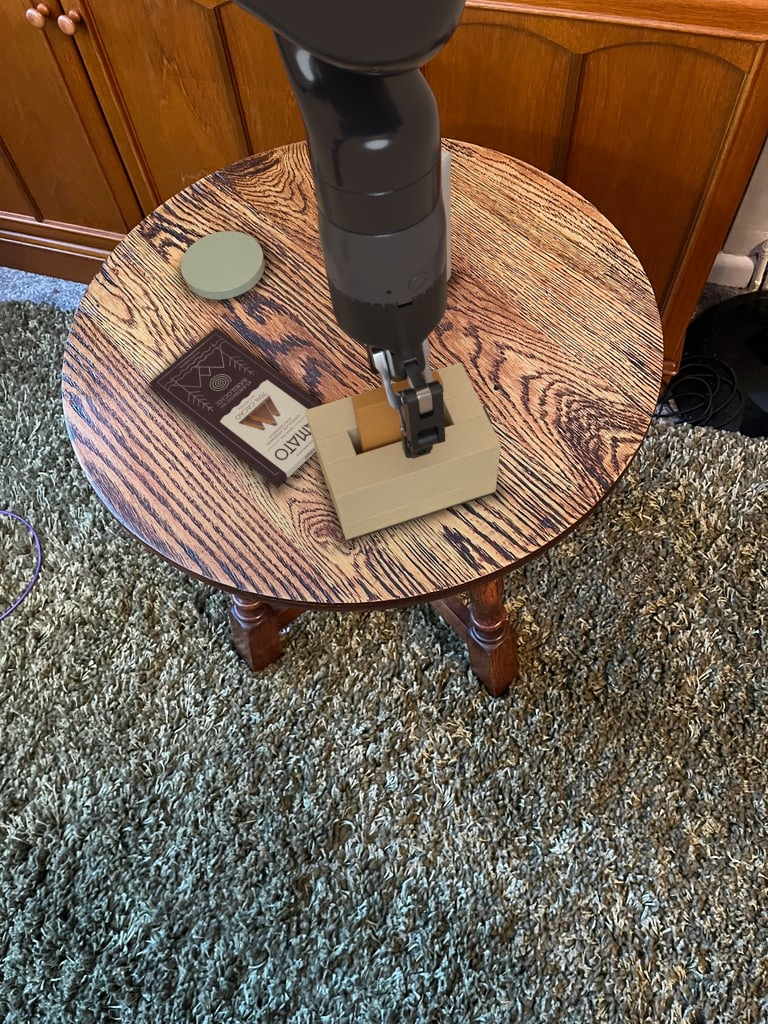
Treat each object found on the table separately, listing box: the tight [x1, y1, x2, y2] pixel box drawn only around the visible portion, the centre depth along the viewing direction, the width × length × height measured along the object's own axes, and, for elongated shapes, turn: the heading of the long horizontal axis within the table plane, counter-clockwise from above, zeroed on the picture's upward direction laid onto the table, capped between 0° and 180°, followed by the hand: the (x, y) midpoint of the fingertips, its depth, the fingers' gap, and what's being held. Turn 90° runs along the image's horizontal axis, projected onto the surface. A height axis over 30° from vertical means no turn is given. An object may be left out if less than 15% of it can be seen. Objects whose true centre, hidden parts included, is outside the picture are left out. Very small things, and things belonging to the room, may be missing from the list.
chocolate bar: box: [149, 327, 324, 489], centre depth 75 cm, size 9×1×18 cm
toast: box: [351, 369, 443, 454], centre depth 63 cm, size 7×1×10 cm, turn 108°
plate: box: [180, 230, 266, 300], centre depth 84 cm, size 9×9×1 cm
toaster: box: [305, 362, 502, 543], centre depth 67 cm, size 15×9×8 cm, turn 108°
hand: (400, 409), depth 61 cm, fingers open, 8 cm apart
